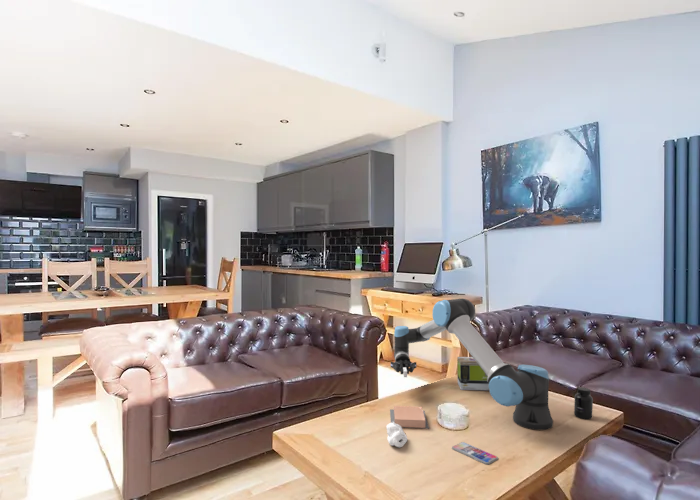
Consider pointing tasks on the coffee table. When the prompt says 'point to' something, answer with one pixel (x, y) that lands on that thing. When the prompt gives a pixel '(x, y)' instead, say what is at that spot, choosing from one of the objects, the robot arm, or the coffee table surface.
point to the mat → (408, 427)
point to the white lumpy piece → (396, 435)
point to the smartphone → (475, 453)
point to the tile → (409, 416)
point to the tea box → (471, 375)
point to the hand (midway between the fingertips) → (405, 374)
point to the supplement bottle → (583, 404)
